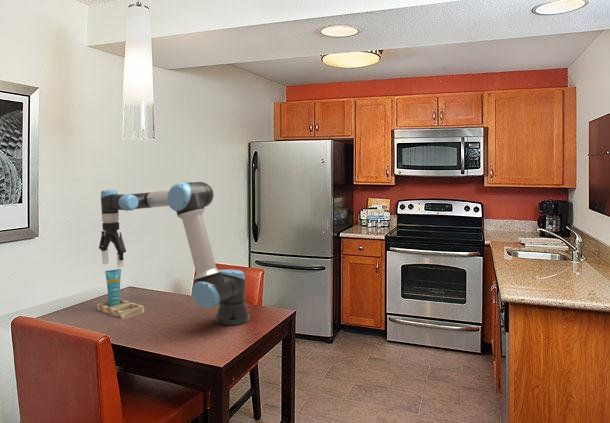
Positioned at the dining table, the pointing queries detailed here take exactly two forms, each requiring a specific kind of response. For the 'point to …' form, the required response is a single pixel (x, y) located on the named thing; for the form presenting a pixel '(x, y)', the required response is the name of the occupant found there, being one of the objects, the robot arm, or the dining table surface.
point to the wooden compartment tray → (121, 309)
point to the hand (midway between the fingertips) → (113, 265)
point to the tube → (113, 286)
